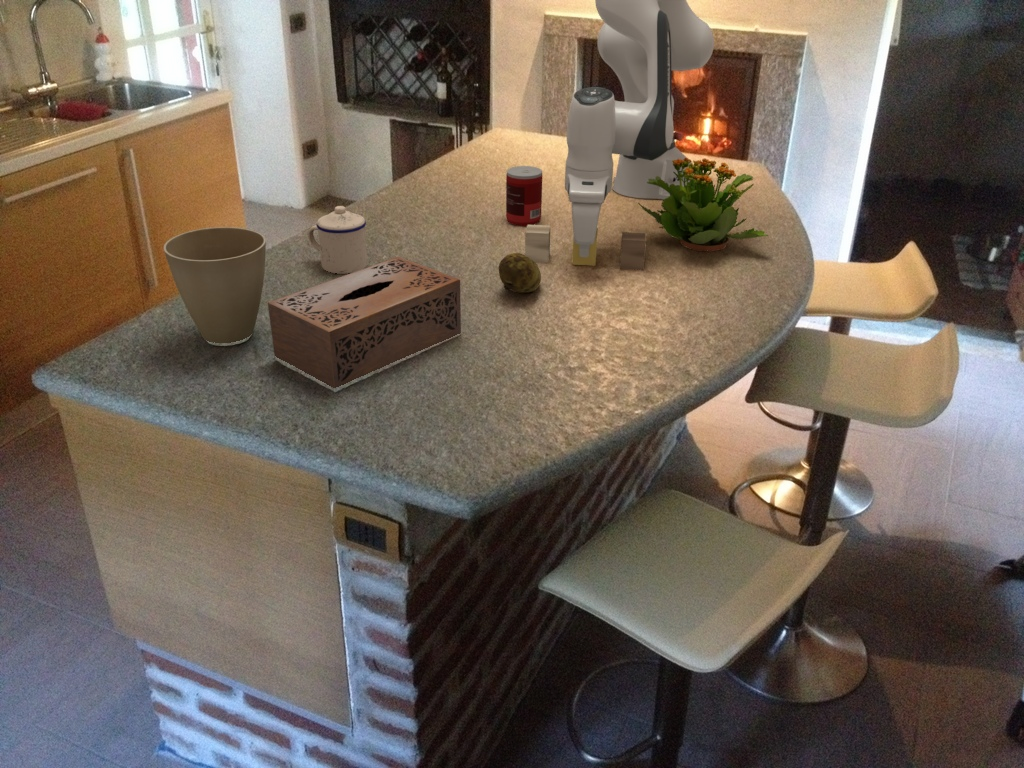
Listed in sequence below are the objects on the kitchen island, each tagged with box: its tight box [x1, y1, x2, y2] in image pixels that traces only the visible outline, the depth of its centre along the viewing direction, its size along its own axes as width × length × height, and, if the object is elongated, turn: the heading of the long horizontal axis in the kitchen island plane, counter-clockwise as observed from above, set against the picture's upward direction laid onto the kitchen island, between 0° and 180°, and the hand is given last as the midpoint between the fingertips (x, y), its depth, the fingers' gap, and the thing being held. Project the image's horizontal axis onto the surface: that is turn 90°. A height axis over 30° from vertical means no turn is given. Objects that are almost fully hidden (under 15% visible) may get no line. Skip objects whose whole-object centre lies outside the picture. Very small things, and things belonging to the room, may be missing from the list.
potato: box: [498, 252, 542, 294], centre depth 159 cm, size 8×13×8 cm, turn 151°
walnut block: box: [619, 231, 647, 272], centre depth 171 cm, size 4×4×6 cm
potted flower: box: [637, 156, 769, 253], centre depth 179 cm, size 25×24×18 cm
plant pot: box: [162, 226, 267, 343], centre depth 140 cm, size 15×15×16 cm
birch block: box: [524, 224, 552, 264], centre depth 174 cm, size 4×4×6 cm
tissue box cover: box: [267, 256, 462, 388], centre depth 139 cm, size 26×14×10 cm, turn 138°
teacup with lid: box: [307, 205, 368, 275], centre depth 168 cm, size 12×9×12 cm
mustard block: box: [571, 227, 599, 266], centre depth 173 cm, size 4×4×6 cm
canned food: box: [505, 165, 543, 227], centre depth 193 cm, size 8×8×11 cm
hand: (584, 250), depth 173 cm, fingers closed on mustard block, 4 cm apart
